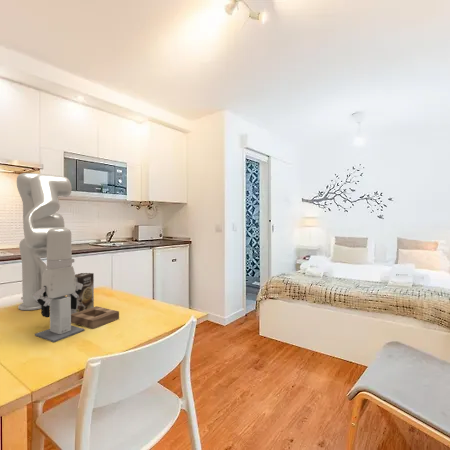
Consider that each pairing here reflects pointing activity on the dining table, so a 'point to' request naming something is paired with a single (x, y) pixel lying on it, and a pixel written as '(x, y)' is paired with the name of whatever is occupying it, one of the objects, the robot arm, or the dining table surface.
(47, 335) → the coaster
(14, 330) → the dining table surface
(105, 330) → the dining table surface
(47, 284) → the robot arm
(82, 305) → the coffee box
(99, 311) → the pocket block
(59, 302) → the skincare box
